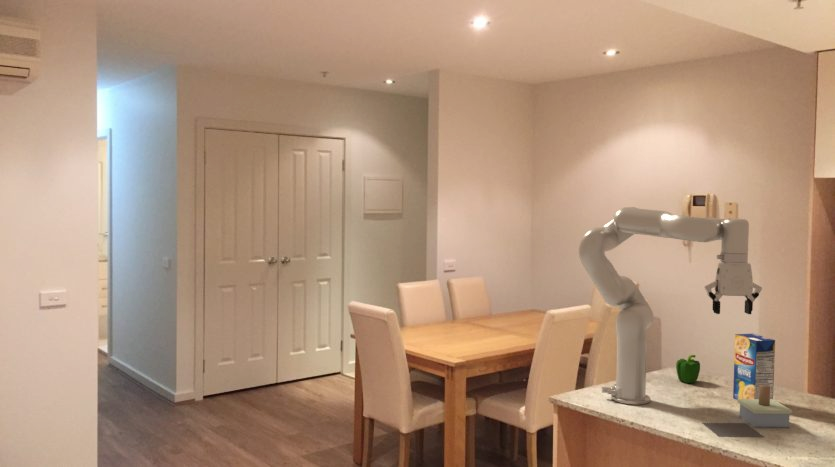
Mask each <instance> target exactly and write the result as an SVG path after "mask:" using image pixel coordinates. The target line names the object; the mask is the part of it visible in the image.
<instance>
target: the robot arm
mask: <svg viewBox="0 0 835 467" xmlns="http://www.w3.org/2000/svg"><path fill="white" fill-rule="evenodd" d="M749 231H750V224H749V221H748V220H747V219H745V218H719V217H712V216H711V217H710V216H709V217H699V216H698V217H695V216H686V215H679V214H675V213H671V212H669V211H665V210H657V209H656V210H655V209H647V208H638V207H634V206H629V207H621V208H619V209H618V210H617V211H616V213H615V214H614V216H613V219H612V220H611V221H608V222H607V223H606V224H605V225H603V226H601V227H599V226H598V227H595V228H592V229H589V230H588V231H586V233H584V235H583V236H582V237H581V240H580V241H579V246H578V255H579V256H578V257H579V259H580V262H581V264H582V266H583V268H584V269H585V271H586V273H587V274H588V276H589V277H590V279H591V281H592V283H593V284H594V286H595V287H596V288H597V291H598V292H599V293H600V296H601V297H602V299H603V300H604V302H605V303H606V304H607V305H609V306H611V307H618V309H619V310H620V311H619V312H618V314H617V316H616V319H615V333H616V372H615V375H616V376H615V377H616V378H615V381H616V382H615V383H613V385H612V386H602V387H601V393H603V394H607V395H610V397H611V400H613V401H615V402H617V403H620V404H626V405H635V406H636V405H637V406H638V405H646V404H649V403H650V402H651V397H650V396H649V395H648V394H646V390H647V389H646V388H647V387H646V386H647V346H648V345H647V336H646V335H647V333H646V330H647V329H649V328H650V327H651V326H652V324H653V321H654V312H653V310H652V308H651V307H650V305H649V303H648V301H647V300H646V299H645V297H644V295H643V293H642V292H641V290H640V289H639V287H638V286H637V284H636V283H635V282H634V280H632V279H631V278H630V277H628V276H624V275H620V274H619V273H618V271H617V270H616V268H615V267H614V265H613V263H612V262H611V261H610V259H608V257H607V256H606V254H605V252H608V251H609V252H610V251H612V250H614V249H615V248H617V247H619V246H620V245H621V244H623V243H624V242H625V241H627V240H629V239H630V238H631V237H632V236H634V235H643V236H650V237H651V236H652V237H658V238H663V239H674V240H680V241H689V242H690V241H691V242H697V243H710V242H713V241H714V242H715V241H721V251H720V253H719V254H717V255H716V260H720V262H718V265H717V269H716V275H715V280H714V281H713V282H710V283H709V284H707V285H704V290H705V292H706V295H707V296H708V297H709V298H710V299H711V300H712V311H713V313H714V314H715V315H720V314H721V301H720V299H721V298H722V297H723V296H725V297H729V296H730V297H744V298H745V300H744V313H745V314H747V315H752V312H753V310H754V309H753V306H754V305H753V304H754V301H755V300H756V299H757V298H758V297H759V296H760V293H761V292H762V290H763V287H762V286H760V285H759V284H756V283H755V282H753V271H752V265H751V263H748V262H749V261H748V259H749V237H750V236H749V233H750V232H749ZM713 288H714V291H715V292H712V289H713Z"/></svg>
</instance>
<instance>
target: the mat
mask: <svg viewBox="0 0 835 467" xmlns="http://www.w3.org/2000/svg"><path fill="white" fill-rule="evenodd" d="M702 424H703V426H705V427H707V428H708V429H709V431H711V432H712V433H713V434H715V435H716V436H717V437H719V438H765V435H763V434H761V433H760V432H759V431H757V430H756V429H754V427H752V426H751V425H750V424H748V423H747V422H702Z"/></svg>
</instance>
